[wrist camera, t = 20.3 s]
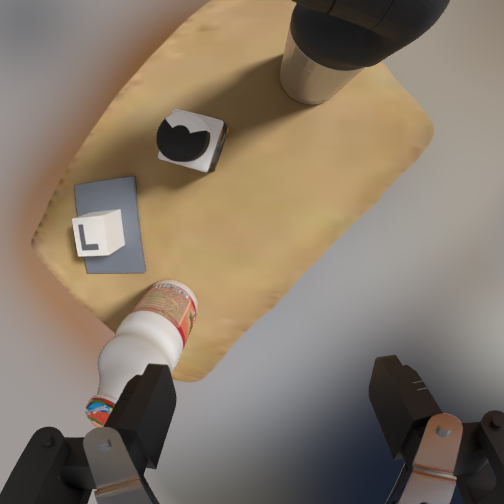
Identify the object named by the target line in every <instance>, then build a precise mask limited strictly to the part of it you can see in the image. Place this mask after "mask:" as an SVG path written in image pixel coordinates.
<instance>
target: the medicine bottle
mask: <svg viewBox="0 0 504 504" xmlns="http://www.w3.org/2000/svg"><path fill="white" fill-rule="evenodd" d="M228 131H229V128H228V127H227V125H226V124H225V123H224V122H223V121H222V120H219V119H215V118H212V117H208V116H204V115H200V114H196V113H192V112H188V111H184V110H180V109H173V111H172V114H171V115H170V116H168V117H167V118H165V120H164V121H163V122H162V123H161V125H160V126H159V129H158V132H157V145H158V148H159V150H160V151H159V154H158V158H159V159H161V160H164V161H168V162H171V163H175V164H178V165H182V166H185V167H189V168H192V169H196V170H199V171H202V172H213V171H215V169H216V166H217V163H218V160H219V157H220V154H221V151H222V148H223V145H224V142H225V139H226V136H227V134H228Z"/></svg>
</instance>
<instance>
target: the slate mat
mask: <svg viewBox="0 0 504 504" xmlns="http://www.w3.org/2000/svg"><path fill="white" fill-rule="evenodd" d="M74 187H75V197H76V206H77V215H78V217H79V216H82V215H85V214H88V213H91V212H99V211H108V210H117V209H121V218H122V226H123V234H124V241H125V245H124V246H122V247H121V248H119V249H118V250H116V251H115V252H113V253H112V254H110V255H104V256H84V259H85V264H86V269H87V273H145V272H146V267H145V260H144V253H143V246H142V239H141V231H140V222H139V213H138V203H137V192H136V180H135V176H131V177H124V178H117V179H110V180H103V181H97V182H91V183H85V184H79V185H74Z"/></svg>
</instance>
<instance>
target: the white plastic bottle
mask: <svg viewBox="0 0 504 504" xmlns="http://www.w3.org/2000/svg"><path fill="white" fill-rule="evenodd" d="M197 312H198V303H197V299H196V297H195V295H194V293H193V292H192V291H191V289H190V288H189V287H187V286H186V285H185V284H183V283H181V282H179V281H176V280H163V281H159V282H157V283H156V284H154V285H153V286H152V287H151V288H150V289H149V290H148V291H147V292H146V294H145V295H144V296H143V297H142V298H141V300H140V301H139V302H138V303H137V304H136V306H135V307H134V308H133V309H132V310H131V312H130V313H129V314H128V315H127V317H126V318H125V319H124V320H123V321H122V323H121V324H120V326H119V327H118V329H117V331H116V333H115V337H114V338H113V339H111V340H110V341H109V342H108V343H107V344H106V345H105V346H104V348H103V349H102V351H101V353H100V355H99V358H98V371H99V377H100V381H99V387H98V392H97V395H95V396H93V397H92V398H91V399H90V400H89V402H88V404H87V406H86V415H87V417H88V419H89V420H90V421H91V422H92V423H93V424H94V425H95V426H96V427H97V428H98V427H103V426H104V424H105V423H106V421H107V419H108V417H109V415H110V413H111V411H112V409H113V408H114V406H115V404H116V402H117V400H119V396H120V395H121V393H123V389H124V387H125V386H126V384H127V382H128V381H129V380H130V379H132V378H133V377H134V376H135V375H142V374H143V372H144V370H145V368H146V367H147V365H148V364H149V363H152V364H166V365H168V366H169V368H170V372H171V371H172V370H173V369H174V368H175V367H176V365H177V363H178V361H179V359H180V357H181V355H182V352H183V349H184V347H185V344H186V342H187V339H188V337H189V334H190V332H191V329H192V327H193V324H194V322H195V319H196V317H197Z"/></svg>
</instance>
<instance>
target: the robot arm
mask: <svg viewBox="0 0 504 504" xmlns="http://www.w3.org/2000/svg"><path fill="white" fill-rule="evenodd" d="M292 1H294V2H296V3H297V4H296V6H295V8H294V10H293V13H292V17H291V22H290V26H289V31H288V36H287V41H286V45H285V50H284V55H283V59H282V63H281V68H280V74H279V75H280V82H281V85H282V87H283V89H284V91H285V92H286V93H287V94H288V95H289V96H290V97H291V98H293V99H294V100H296V101H298V102H301V103H304V104H309V105H315V104H321V103H324V102H326V101H328V100H329V99H330V98H332V97H333V96H334V95H335V94H336V93H337V92H338V91H339V90H341V89H342V88H343V87H344V86H345V85H346V84H347V83H348V82H349V81H350V80H352V79H353V78H354V77H355V76H356V75H357V74H358V73H359V72H360V71H361V70H363V69H364V68H365V67H370V66H373V65H376V64H377V63H379V62H381V61H382V60H383V59H385V58H386V57H388V56H390V55H391V54H393V53H395V52H396V51H398V50H400V49H402V48H403V47H405V46H407V45H408V44H410V43H411V42H413V41H414V40H416V39H417V38H419V37H420V36H421V35H422V34H424V33H425V32H426V31H427V30H428V29H430V28H431V26H433V25H434V24H435V22H436V21H437V20H438V19H439V17H440V16H441V15H442V13H443V12H444V10H445V9H446V7H447V5H448V3H449V1H450V0H292ZM369 398H370V402H371V404H372V406H373V409H374V412H375V414H376V417H377V419H378V422H379V424H380V427H381V429H382V432H383V434H384V437H385V440H386V442H387V445H388V447H389V450H390V453H391V455H392V458H393V460H398V459H401V458H404V460H405V465H404V467H403V468H402V471H401V473H400V475H399V477H398V479H397V482H396V484H395V486H394V488H393V490H392V492H391V494H390V496H389V498H388V500H387V502H386V503H385V504H449V503H450V501H451V497H452V494H453V491H454V487H455V484H456V483H457V486H458V488H459V491H460V494H461V497H462V500H463V502H464V504H504V413H503V412H501V411H495V410H494V411H489V412H487V413H486V414H485V415H484V416H483V418H482V420H481V421H480V422H474V423H461V422H460V421H459V419H457V418H456V417H455V416H453V415H450V414H443V413H442V411H441V409H440V408H439V406H438V405H437V403H436V401H435V400H434V398H433V396H432V395H431V394H430V392H429V390H428V389H426V385H425V384H424V382H422V379H421V378H420V376H419V375H418V373H417V372H416V371H415V370H413V369H412V368H411V367H409V366H408V365H404V366H402V364H401V362H400V361H399V359H398V358H397V356H396V355H390V356H383V357H377V358H376V359H375V363H374V367H373V372H372V376H371V380H370V384H369ZM175 407H176V392H175V388H174V384H173V380H172V376H171V372H170V368H169V366H168V365H166V364H152V363H149V364H148V365H147V367H146V368H145V370H144V372H143V374H142V375H135V376H134V377H133V378H132V379H130V380H129V381H128V382H127V384H126V386H125V387H124V389H123V393H121V395H120V396H119V400H117V402H116V404H115V406H114V408H113V409H112V411H111V413H110V415H109V417H108V419H107V421H106V423H105V424H104V426H103V427H98V428H95V429H93V430H91V431H90V432H88V433H87V434H86V436H85V437H82V438H69V437H68V438H67V437H66V438H65V437H64V436H63V435H62V433H61V432H60V431H59V430H58V429H56V428H54V427H44V428H41V429H39V430H37V431H36V432H35V433H34V434H33V436H32V438H31V439H30V441H29V443H28V444H27V446H26V448H25V449H24V451H23V453H22V455H21V456H20V458H19V460H18V462H17V463H16V466H15V467H14V469H13V471H12V472H11V474H10V476H9V478H8V480H7V482H6V484H5V486H4V488H3V490H2V492H1V494H0V504H87V503H88V500H89V497H90V495H91V492H92V489H97V491H95V492H94V493H95V498H96V501H97V503H98V504H160V503H159V502H158V500H157V498H156V497H155V495H154V493H153V491H152V490H151V488H150V486H149V484H148V482H147V481H146V479H145V477H144V472H145V469H146V468H152V469H156V468H157V464H158V461H159V458H160V454H161V451H162V448H163V445H164V441H165V439H166V435H167V432H168V429H169V426H170V423H171V420H172V416H173V413H174V410H175ZM488 461H489V463H490V465H491V467H492V469H493V471H494V473H495V475H496V479H497V482H496V480H495V478H494V476H493V474H492V471H491V469H490V467H489V465H488V463H487V462H488Z"/></svg>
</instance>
